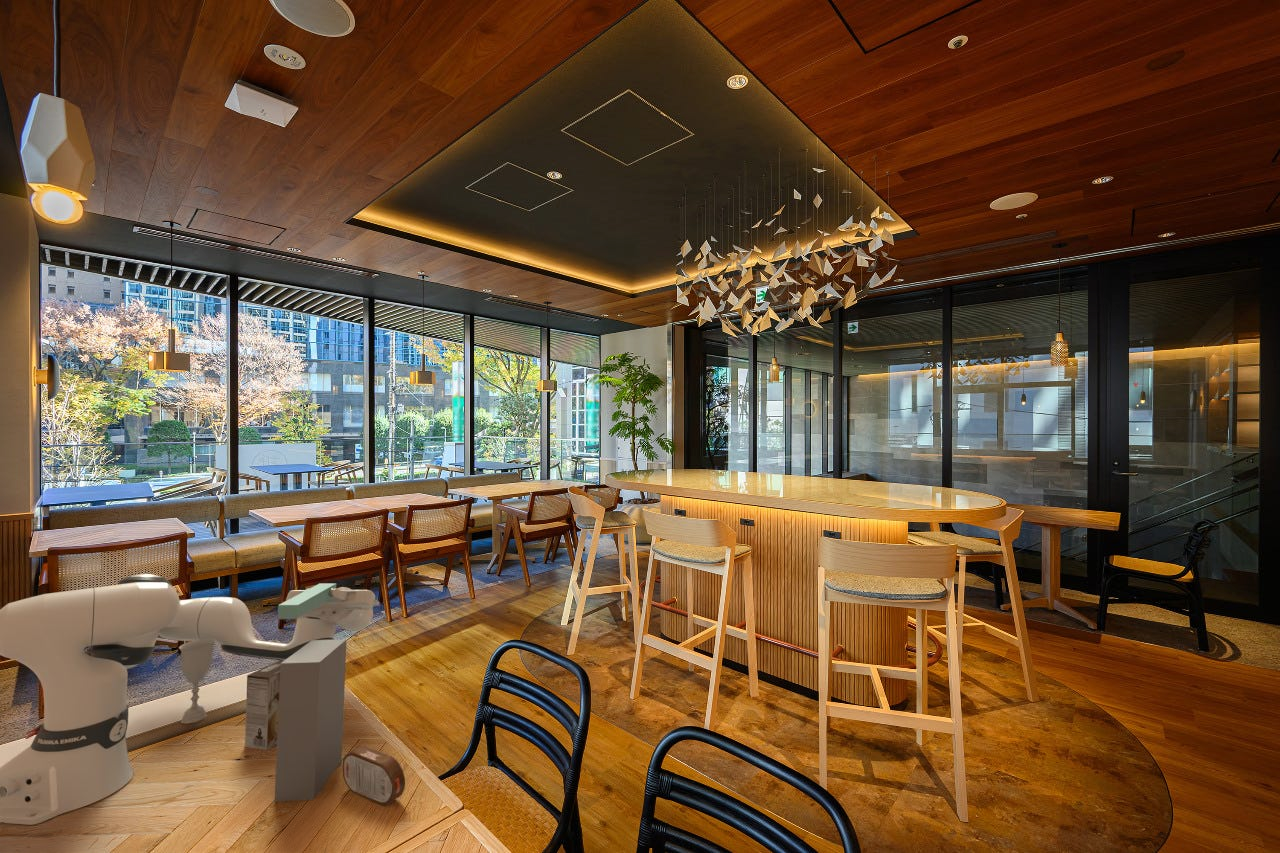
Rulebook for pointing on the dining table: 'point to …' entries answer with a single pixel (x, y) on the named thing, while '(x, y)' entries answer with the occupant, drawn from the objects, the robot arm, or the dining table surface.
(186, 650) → the chalice
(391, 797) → the tin
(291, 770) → the stand
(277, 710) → the coffee box
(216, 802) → the dining table surface
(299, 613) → the mint green bar
